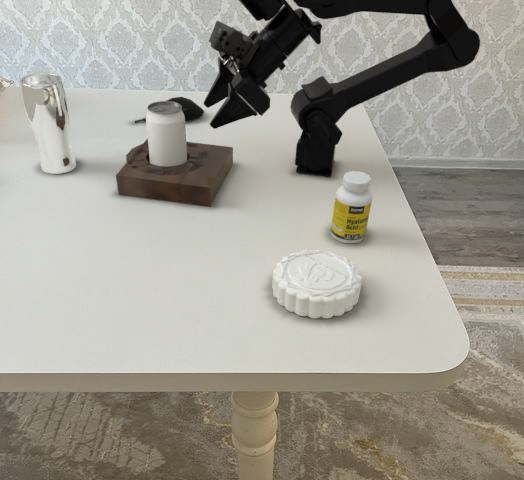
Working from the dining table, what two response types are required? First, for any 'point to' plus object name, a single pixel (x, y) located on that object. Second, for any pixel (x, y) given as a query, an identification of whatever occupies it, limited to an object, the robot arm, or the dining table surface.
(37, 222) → the dining table surface
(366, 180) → the supplement bottle
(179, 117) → the can
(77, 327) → the dining table surface
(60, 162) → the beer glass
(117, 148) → the dining table surface
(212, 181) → the holder board
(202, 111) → the gaming mouse
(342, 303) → the mooncake
